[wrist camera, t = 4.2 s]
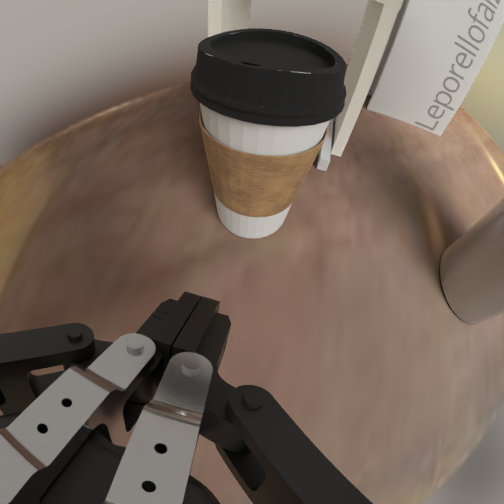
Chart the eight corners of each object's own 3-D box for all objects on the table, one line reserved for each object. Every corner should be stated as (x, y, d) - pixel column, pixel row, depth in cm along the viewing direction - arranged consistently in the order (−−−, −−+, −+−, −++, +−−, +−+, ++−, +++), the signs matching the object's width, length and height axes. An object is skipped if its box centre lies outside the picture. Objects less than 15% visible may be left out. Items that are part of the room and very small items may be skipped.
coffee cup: (186, 233, 22) (151, 59, 9) (225, 163, 26) (229, 15, 13) (284, 267, 22) (356, 101, 8) (308, 189, 25) (360, 44, 12)
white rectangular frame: (342, 111, 32) (385, -16, 14) (340, 176, 27) (415, -4, 9) (234, 86, 33) (244, -45, 15) (198, 141, 27) (192, -45, 9)
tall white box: (366, 109, 34) (427, -61, 7) (359, 91, 36) (409, -61, 9) (440, 136, 34) (511, 0, 7) (429, 116, 36) (490, -11, 9)
